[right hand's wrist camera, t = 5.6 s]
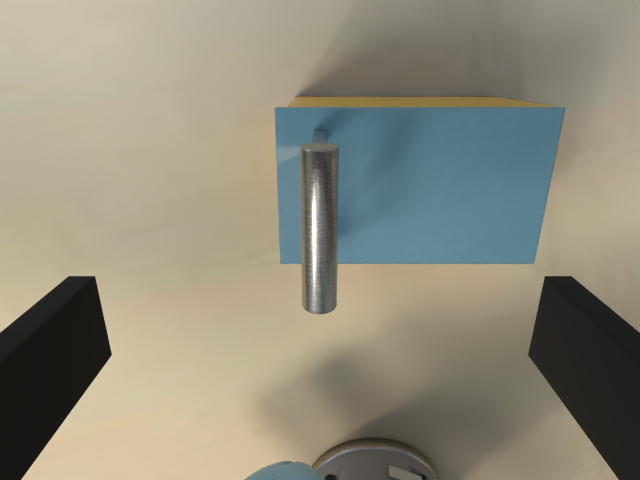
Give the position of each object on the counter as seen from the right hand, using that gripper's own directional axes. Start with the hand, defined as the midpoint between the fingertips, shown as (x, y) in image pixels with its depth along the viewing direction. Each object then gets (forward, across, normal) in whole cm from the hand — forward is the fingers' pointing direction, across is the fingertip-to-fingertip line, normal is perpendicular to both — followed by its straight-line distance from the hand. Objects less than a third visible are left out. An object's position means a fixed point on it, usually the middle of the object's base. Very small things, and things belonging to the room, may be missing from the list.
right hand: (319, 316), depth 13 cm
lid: (+15, -6, 0) cm, 16 cm away
